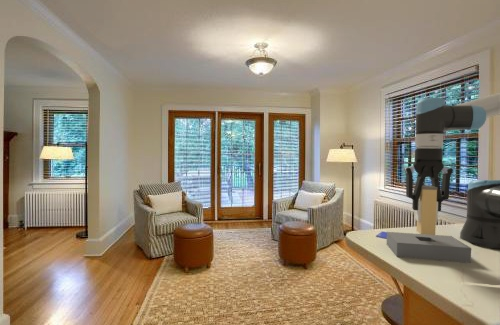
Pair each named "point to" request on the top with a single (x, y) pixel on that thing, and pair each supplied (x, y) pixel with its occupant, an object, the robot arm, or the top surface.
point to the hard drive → (382, 235)
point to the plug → (427, 210)
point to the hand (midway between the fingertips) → (426, 220)
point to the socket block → (428, 247)
